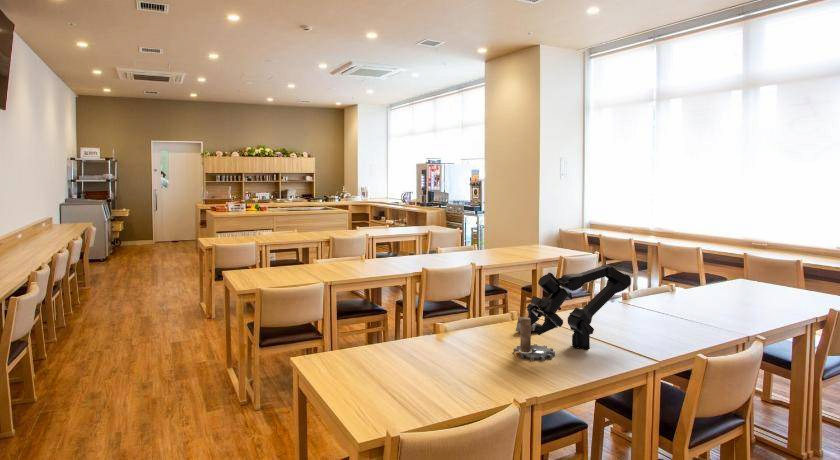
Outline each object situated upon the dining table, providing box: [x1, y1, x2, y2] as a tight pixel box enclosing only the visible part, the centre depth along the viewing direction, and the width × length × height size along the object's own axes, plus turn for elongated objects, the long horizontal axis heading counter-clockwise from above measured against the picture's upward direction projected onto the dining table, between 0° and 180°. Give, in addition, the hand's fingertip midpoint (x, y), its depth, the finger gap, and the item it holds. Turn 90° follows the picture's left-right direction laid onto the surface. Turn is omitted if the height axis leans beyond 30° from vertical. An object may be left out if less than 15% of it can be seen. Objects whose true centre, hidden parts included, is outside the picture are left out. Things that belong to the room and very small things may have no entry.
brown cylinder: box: [519, 316, 532, 353], centre depth 210 cm, size 4×4×13 cm
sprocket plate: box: [513, 343, 556, 362], centre depth 211 cm, size 16×16×2 cm
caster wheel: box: [515, 316, 543, 333], centre depth 242 cm, size 7×11×10 cm
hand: (531, 331), depth 211 cm, fingers open, 9 cm apart
